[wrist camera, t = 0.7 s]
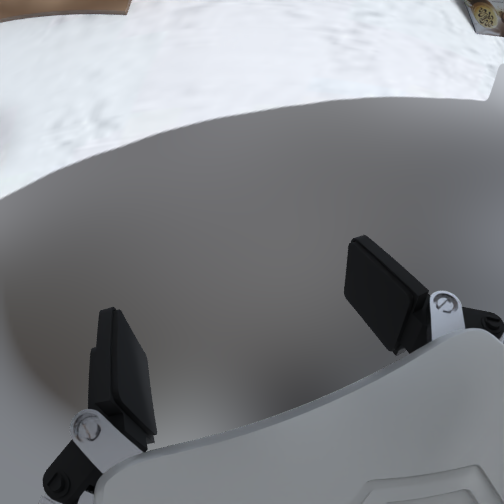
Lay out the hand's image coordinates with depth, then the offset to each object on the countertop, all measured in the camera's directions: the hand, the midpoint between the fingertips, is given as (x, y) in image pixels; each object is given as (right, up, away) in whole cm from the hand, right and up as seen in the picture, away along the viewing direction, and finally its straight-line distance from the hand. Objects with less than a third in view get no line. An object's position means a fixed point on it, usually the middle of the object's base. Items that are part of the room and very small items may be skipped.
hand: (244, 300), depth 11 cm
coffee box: (+49, +54, +21) cm, 76 cm away
